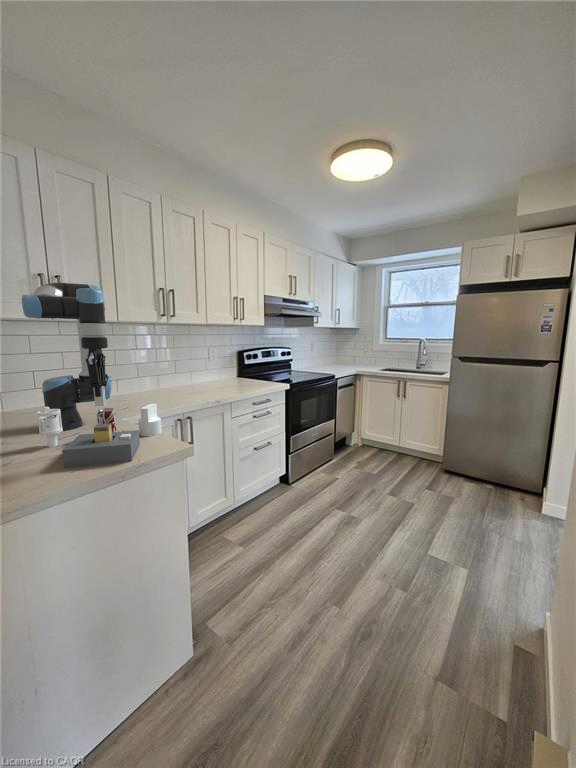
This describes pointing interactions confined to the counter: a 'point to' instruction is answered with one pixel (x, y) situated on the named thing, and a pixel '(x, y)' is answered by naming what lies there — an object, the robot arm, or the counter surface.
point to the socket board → (101, 449)
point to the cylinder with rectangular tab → (149, 421)
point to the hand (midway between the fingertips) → (100, 405)
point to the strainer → (50, 425)
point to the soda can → (107, 417)
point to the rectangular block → (103, 433)
